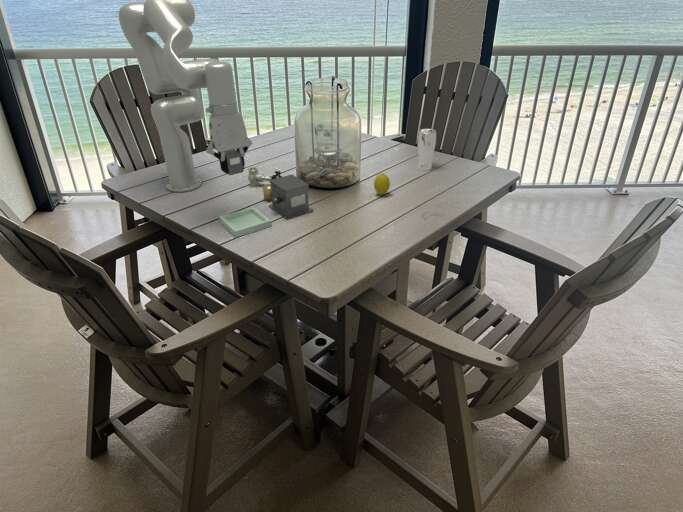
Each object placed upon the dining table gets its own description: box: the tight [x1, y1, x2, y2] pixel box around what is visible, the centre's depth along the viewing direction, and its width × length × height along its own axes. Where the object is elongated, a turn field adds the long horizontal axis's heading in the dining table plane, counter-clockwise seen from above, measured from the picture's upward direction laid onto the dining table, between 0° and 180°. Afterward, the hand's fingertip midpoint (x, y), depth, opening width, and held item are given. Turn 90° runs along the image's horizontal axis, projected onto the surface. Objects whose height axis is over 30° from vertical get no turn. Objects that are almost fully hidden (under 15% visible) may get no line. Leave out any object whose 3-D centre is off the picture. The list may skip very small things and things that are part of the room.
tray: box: [218, 206, 273, 238], centre depth 142 cm, size 12×12×2 cm
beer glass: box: [416, 128, 437, 171], centre depth 179 cm, size 7×7×15 cm
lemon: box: [373, 172, 391, 196], centre depth 159 cm, size 6×6×8 cm
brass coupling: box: [262, 183, 272, 203], centre depth 157 cm, size 4×4×5 cm
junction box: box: [268, 174, 314, 220], centre depth 149 cm, size 12×11×10 cm
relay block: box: [225, 149, 244, 176], centre depth 137 cm, size 5×4×6 cm
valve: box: [247, 166, 283, 188], centre depth 166 cm, size 7×7×12 cm
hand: (233, 169), depth 138 cm, fingers closed on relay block, 4 cm apart
